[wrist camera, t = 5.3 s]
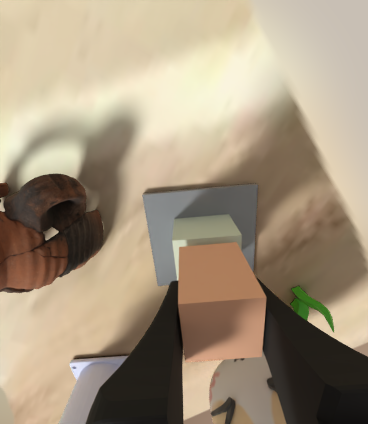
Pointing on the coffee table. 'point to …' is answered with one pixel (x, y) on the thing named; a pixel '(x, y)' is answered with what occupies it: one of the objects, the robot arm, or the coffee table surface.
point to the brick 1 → (203, 233)
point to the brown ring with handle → (41, 221)
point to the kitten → (253, 381)
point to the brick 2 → (219, 304)
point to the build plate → (196, 207)
